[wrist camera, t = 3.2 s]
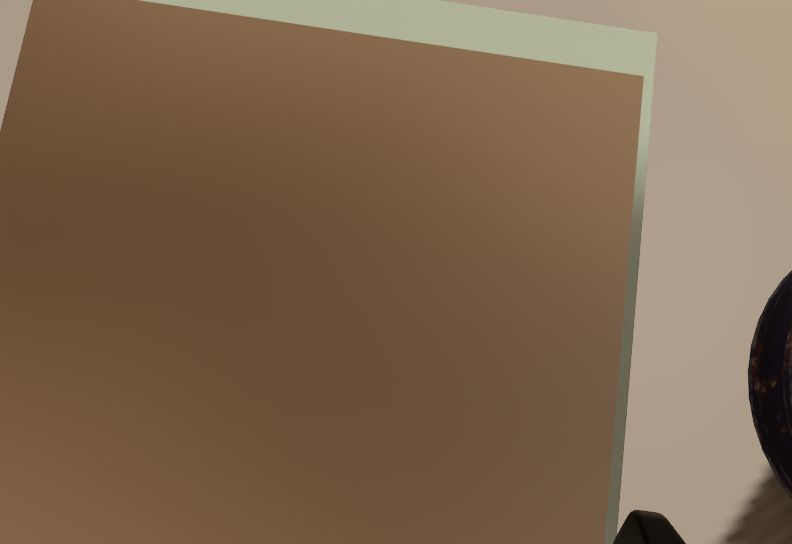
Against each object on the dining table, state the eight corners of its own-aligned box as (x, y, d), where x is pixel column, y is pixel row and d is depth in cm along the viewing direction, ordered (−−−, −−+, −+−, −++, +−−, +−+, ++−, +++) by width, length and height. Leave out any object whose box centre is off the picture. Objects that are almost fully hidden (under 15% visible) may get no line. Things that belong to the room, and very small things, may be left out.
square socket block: (573, 628, 18) (605, 667, 15) (54, 556, 18) (2, 585, 15) (623, 75, 21) (657, 33, 18) (170, 6, 20) (143, -45, 18)
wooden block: (425, 470, 18) (587, 741, 5) (245, 445, 18) (-129, 643, 5) (447, 293, 19) (644, 77, 5) (275, 268, 19) (36, -15, 5)
